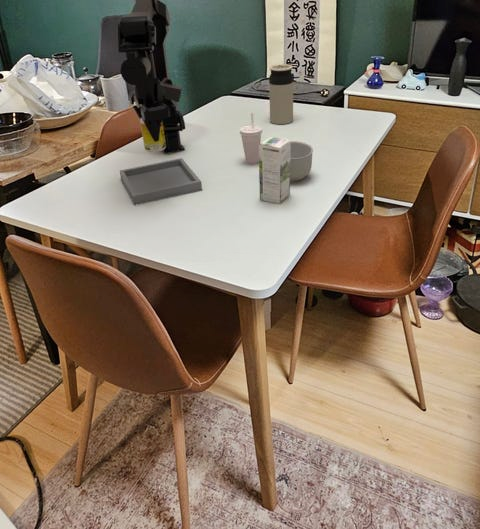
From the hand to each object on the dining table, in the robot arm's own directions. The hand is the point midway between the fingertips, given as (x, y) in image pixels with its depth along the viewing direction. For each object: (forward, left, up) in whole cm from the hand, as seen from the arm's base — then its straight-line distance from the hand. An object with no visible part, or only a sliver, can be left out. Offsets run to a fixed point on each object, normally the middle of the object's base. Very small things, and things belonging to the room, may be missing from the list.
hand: (153, 137), depth 126 cm
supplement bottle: (0, 0, -3) cm, 3 cm away
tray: (0, 0, -13) cm, 13 cm away
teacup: (+12, +32, -13) cm, 36 cm away
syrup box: (+22, +24, -13) cm, 35 cm away
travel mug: (-30, +51, -13) cm, 60 cm away
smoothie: (-2, +28, -13) cm, 31 cm away
